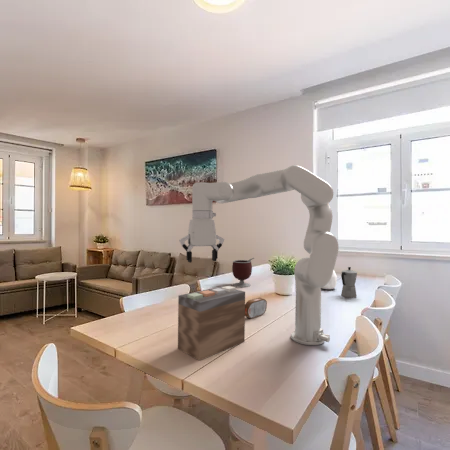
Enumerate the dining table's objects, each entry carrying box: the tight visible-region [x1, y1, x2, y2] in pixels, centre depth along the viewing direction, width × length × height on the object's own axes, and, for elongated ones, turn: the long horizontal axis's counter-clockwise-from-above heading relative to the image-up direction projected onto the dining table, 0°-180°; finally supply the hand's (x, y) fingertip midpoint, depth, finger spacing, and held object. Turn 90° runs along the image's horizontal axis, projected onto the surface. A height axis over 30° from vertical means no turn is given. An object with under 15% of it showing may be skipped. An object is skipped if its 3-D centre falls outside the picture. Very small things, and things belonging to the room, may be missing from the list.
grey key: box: [210, 287, 226, 294], centre depth 109 cm, size 4×4×2 cm
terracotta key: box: [200, 289, 215, 297], centre depth 105 cm, size 4×4×2 cm
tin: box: [245, 297, 268, 319], centre depth 140 cm, size 15×3×8 cm, turn 135°
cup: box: [321, 270, 338, 290], centre depth 201 cm, size 13×13×14 cm
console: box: [177, 286, 246, 362], centre depth 107 cm, size 12×22×19 cm, turn 134°
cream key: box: [221, 285, 237, 292], centre depth 113 cm, size 4×4×2 cm
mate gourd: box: [231, 257, 255, 288], centre depth 206 cm, size 16×14×20 cm
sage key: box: [186, 292, 203, 300], centre depth 101 cm, size 4×4×2 cm
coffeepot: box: [340, 266, 358, 299], centre depth 180 cm, size 15×9×18 cm, turn 129°
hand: (202, 261), depth 110 cm, fingers open, 9 cm apart
